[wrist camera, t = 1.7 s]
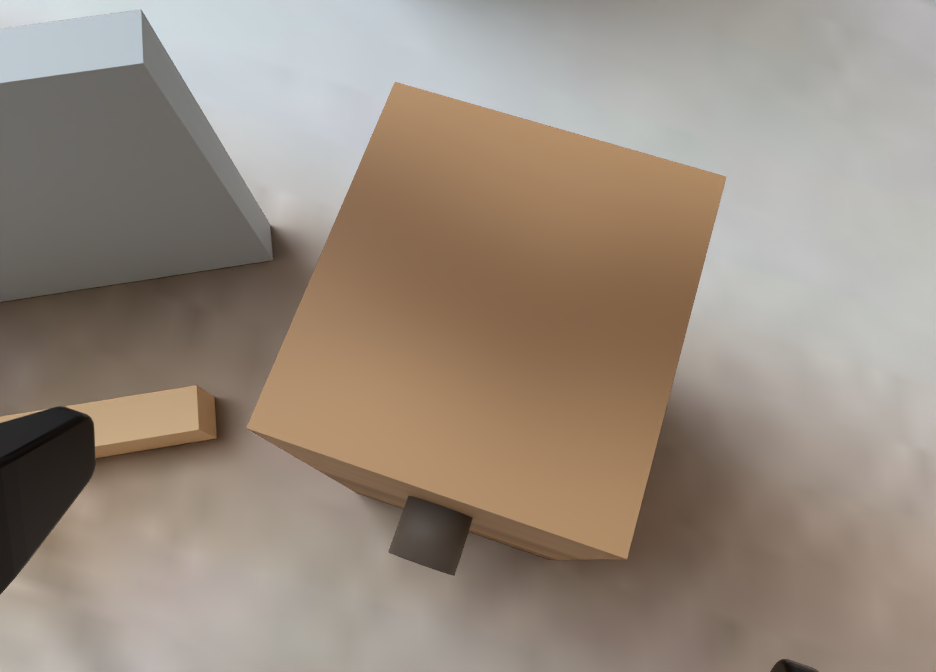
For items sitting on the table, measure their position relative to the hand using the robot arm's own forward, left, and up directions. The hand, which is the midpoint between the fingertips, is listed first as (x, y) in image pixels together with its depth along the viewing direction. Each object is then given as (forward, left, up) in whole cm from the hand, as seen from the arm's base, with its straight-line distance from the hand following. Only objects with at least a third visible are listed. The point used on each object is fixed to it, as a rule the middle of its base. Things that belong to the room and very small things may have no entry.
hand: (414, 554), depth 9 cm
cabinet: (+3, -2, -11) cm, 11 cm away
